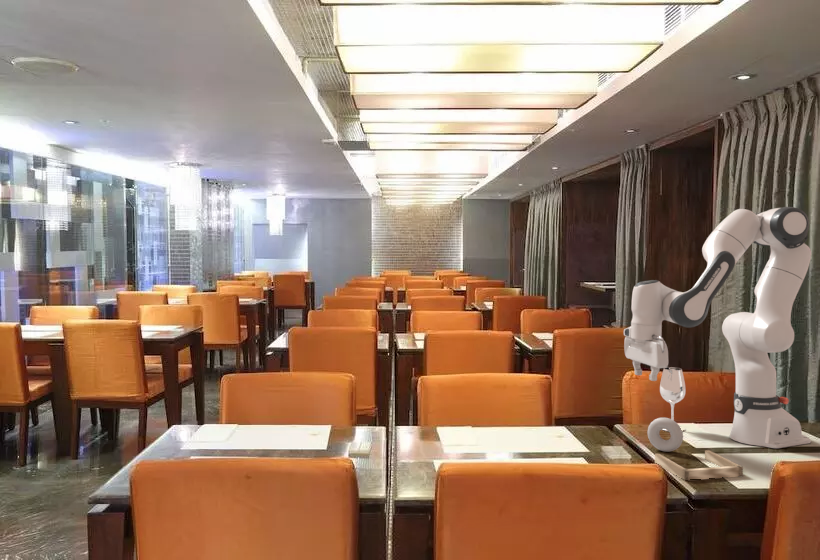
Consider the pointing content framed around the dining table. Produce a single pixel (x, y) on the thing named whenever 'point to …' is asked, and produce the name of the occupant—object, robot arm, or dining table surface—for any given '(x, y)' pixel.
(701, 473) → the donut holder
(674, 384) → the wineglass
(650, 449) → the dining table surface
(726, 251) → the robot arm
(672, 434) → the donut
